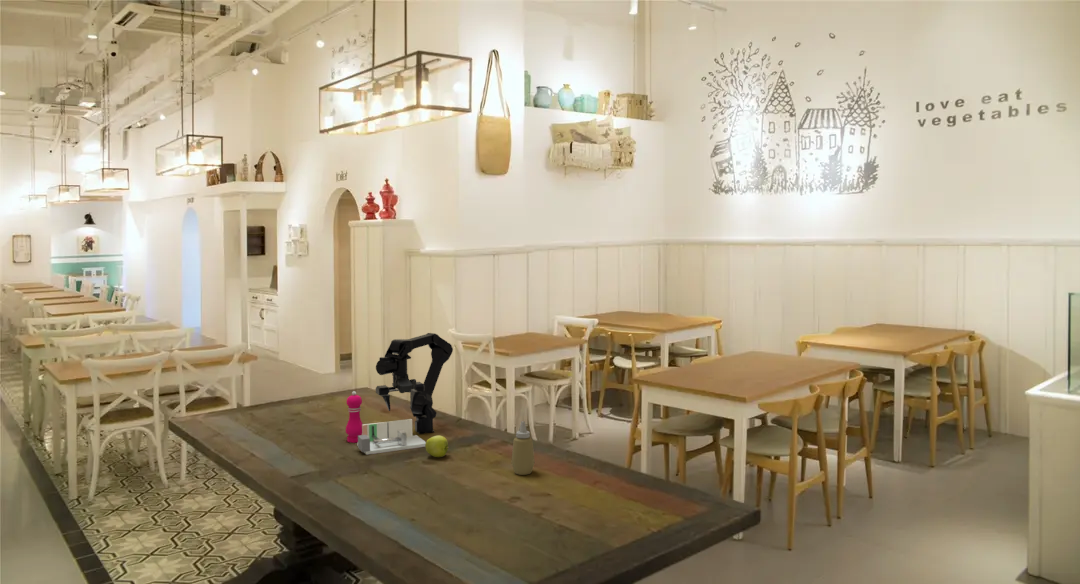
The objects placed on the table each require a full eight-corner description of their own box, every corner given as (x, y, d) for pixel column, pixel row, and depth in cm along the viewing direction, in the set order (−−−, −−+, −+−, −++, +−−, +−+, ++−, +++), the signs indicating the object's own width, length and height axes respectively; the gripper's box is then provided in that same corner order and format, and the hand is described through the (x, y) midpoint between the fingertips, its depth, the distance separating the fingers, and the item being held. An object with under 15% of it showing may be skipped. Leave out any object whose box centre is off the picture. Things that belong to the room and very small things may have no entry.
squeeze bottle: (537, 470, 271) (537, 419, 269) (530, 477, 263) (529, 425, 262) (516, 468, 273) (516, 418, 272) (508, 475, 266) (507, 423, 264)
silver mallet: (397, 437, 307) (397, 422, 307) (406, 444, 297) (406, 429, 296) (368, 441, 302) (367, 426, 301) (375, 449, 291) (375, 433, 291)
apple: (446, 460, 282) (446, 439, 281) (422, 459, 284) (422, 438, 283) (453, 454, 289) (452, 433, 289) (429, 453, 291) (429, 432, 291)
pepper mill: (366, 438, 312) (365, 389, 310) (360, 443, 305) (359, 393, 303) (349, 437, 312) (348, 389, 311) (343, 442, 305) (342, 393, 304)
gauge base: (416, 437, 312) (416, 418, 312) (427, 446, 300) (427, 425, 300) (353, 446, 301) (353, 425, 300) (362, 455, 289) (361, 433, 288)
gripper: (382, 376, 297) (383, 416, 298) (429, 372, 306) (429, 411, 307) (374, 371, 307) (375, 410, 308) (419, 367, 315) (420, 405, 317)
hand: (400, 409), depth 310 cm, fingers open, 9 cm apart
